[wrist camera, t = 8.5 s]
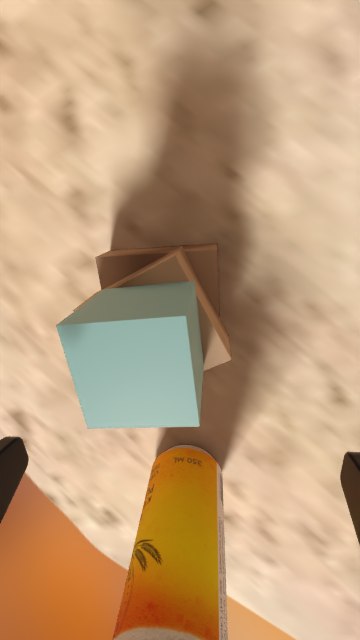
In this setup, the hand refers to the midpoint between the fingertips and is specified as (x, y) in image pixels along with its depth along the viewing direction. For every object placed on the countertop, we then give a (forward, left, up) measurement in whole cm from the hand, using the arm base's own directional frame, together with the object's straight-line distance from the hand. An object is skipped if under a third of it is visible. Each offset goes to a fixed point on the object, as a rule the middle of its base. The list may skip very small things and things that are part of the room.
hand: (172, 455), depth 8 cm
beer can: (+1, +15, -13) cm, 20 cm away
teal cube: (+2, -1, -7) cm, 7 cm away
